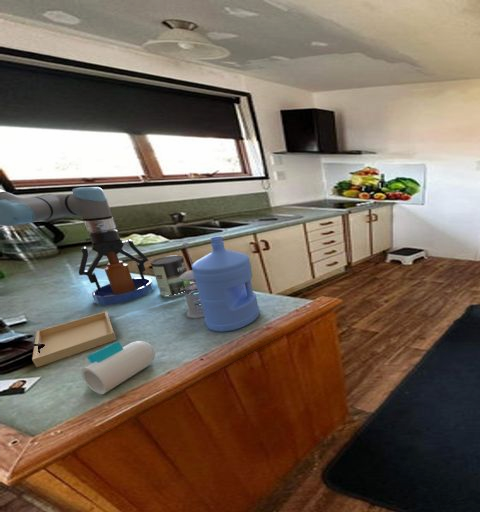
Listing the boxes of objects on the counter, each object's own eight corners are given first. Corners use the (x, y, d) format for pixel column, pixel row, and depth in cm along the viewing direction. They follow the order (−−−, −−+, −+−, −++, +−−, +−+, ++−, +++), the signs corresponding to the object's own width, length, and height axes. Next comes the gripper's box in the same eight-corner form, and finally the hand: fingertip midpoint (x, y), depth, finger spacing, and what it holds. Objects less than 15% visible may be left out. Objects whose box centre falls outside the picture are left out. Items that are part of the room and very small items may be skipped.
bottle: (116, 299, 103) (99, 255, 97) (114, 295, 107) (97, 252, 101) (137, 294, 108) (123, 251, 102) (135, 289, 112) (120, 248, 106)
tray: (36, 367, 70) (32, 359, 69) (39, 338, 82) (36, 331, 81) (116, 339, 80) (113, 332, 79) (109, 317, 92) (106, 310, 92)
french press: (179, 314, 93) (159, 245, 85) (211, 299, 103) (195, 236, 95) (199, 320, 90) (179, 248, 82) (229, 304, 100) (215, 238, 92)
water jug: (197, 335, 82) (172, 246, 72) (219, 309, 96) (200, 233, 87) (252, 330, 84) (234, 243, 75) (265, 305, 98) (251, 230, 89)
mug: (146, 327, 68) (85, 358, 58) (166, 356, 70) (110, 392, 59) (123, 335, 73) (62, 366, 62) (142, 363, 75) (86, 398, 64)
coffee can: (195, 285, 116) (187, 254, 112) (186, 295, 107) (177, 262, 102) (167, 288, 113) (157, 256, 109) (155, 299, 104) (144, 265, 100)
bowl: (97, 311, 96) (93, 301, 95) (94, 296, 107) (90, 287, 106) (158, 294, 108) (155, 285, 107) (149, 282, 119) (146, 274, 118)
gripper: (52, 239, 88) (77, 298, 95) (147, 226, 105) (162, 277, 112) (52, 235, 93) (76, 292, 100) (143, 223, 110) (158, 272, 117)
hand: (122, 284), depth 106 cm, fingers open, 12 cm apart
